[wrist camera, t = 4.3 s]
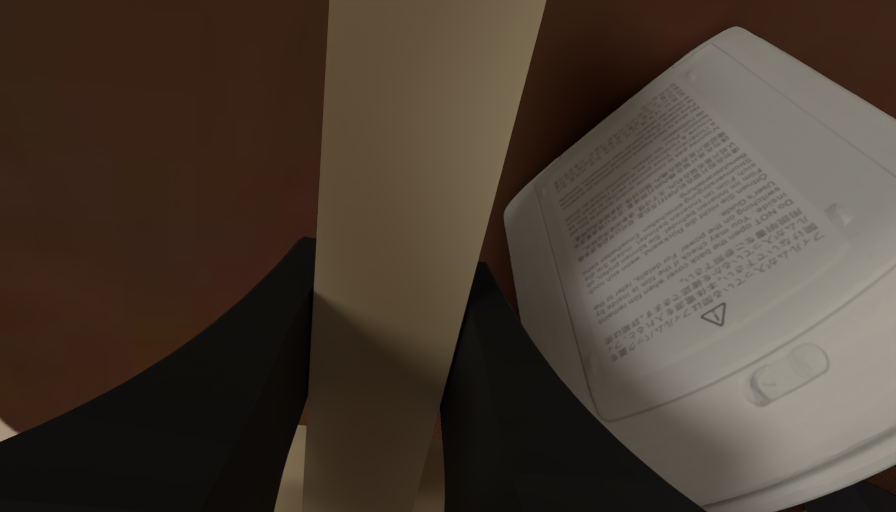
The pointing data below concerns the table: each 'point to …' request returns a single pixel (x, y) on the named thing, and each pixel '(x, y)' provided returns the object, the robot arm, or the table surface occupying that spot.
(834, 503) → the grey red panelled box
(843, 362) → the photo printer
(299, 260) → the robot arm
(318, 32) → the table surface
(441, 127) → the tan wooden slat
